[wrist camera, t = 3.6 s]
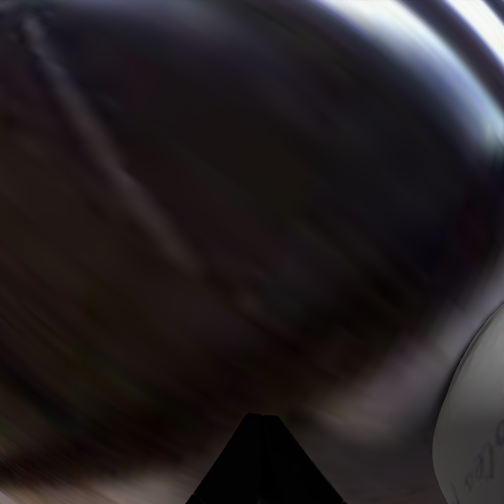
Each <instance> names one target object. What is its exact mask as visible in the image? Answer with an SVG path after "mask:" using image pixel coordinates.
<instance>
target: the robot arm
mask: <svg viewBox="0 0 504 504" xmlns="http://www.w3.org/2000/svg"><path fill="white" fill-rule="evenodd" d="M185 504H347V503H346V502H343V499H342V497H341V496H340V495H339V494H338V493H337V491H336V490H335V489H334V488H333V487H332V485H331V484H330V483H329V482H328V480H327V479H326V478H325V477H324V475H323V474H322V473H321V472H320V470H319V469H318V468H317V467H316V465H315V464H314V463H313V462H312V460H311V459H310V458H309V457H308V455H307V454H306V453H305V451H304V450H303V449H302V447H301V446H300V445H299V443H298V442H297V441H296V440H295V438H294V437H293V436H292V434H291V433H290V432H289V430H288V429H287V427H286V426H285V425H284V423H283V422H282V421H281V419H280V418H279V417H278V416H272V415H263V416H262V415H261V414H254V413H247V414H246V415H245V417H244V418H243V420H242V422H241V423H240V425H239V426H238V428H237V429H236V431H235V433H234V434H233V436H232V437H231V439H230V440H229V442H228V443H227V445H226V446H225V448H224V449H223V451H222V452H221V454H220V455H219V457H218V458H217V460H216V461H215V463H214V464H213V466H212V467H211V469H210V470H209V472H208V473H207V475H206V476H205V477H204V479H203V480H202V482H201V483H200V484H199V486H198V487H197V489H196V490H195V492H194V494H192V495H191V497H190V498H189V499H188V501H187V502H186V503H185Z"/></svg>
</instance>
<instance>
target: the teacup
mask: <svg viewBox="0 0 504 504" xmlns="http://www.w3.org/2000/svg"><path fill="white" fill-rule="evenodd" d="M432 458H433V466H434V471H435V474H436V477H437V481H438V484H439V486H440V488H441V491H442V493H443V495H444V497H445V499H446V501H447V503H448V504H504V303H503V304H502V305H501V306H500V307H499V308H498V309H497V310H496V311H495V312H494V313H493V314H492V315H491V316H490V317H489V318H488V320H487V321H486V322H485V324H484V325H483V326H482V327H481V329H480V330H479V332H478V333H477V334H476V336H475V337H474V339H473V340H472V342H471V344H470V345H469V347H468V348H467V350H466V352H465V354H464V355H463V357H462V359H461V361H460V363H459V365H458V367H457V369H456V371H455V373H454V376H453V379H452V381H451V384H450V386H449V390H448V393H447V395H446V398H445V400H444V402H443V405H442V408H441V410H440V413H439V417H438V420H437V423H436V428H435V432H434V438H433V447H432Z"/></svg>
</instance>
